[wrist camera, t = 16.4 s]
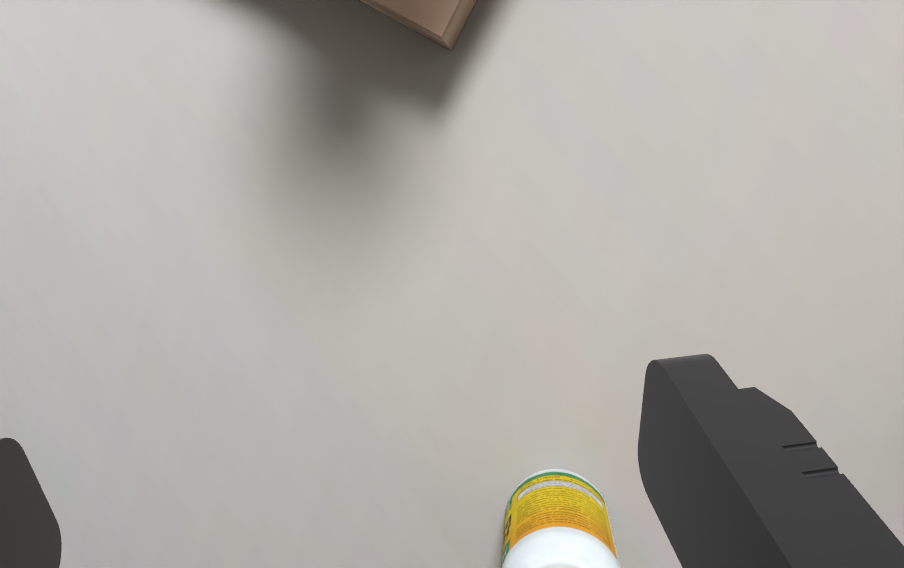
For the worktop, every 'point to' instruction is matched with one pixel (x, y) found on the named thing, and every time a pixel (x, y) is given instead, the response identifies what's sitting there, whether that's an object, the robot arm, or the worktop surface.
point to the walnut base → (429, 16)
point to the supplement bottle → (557, 524)
